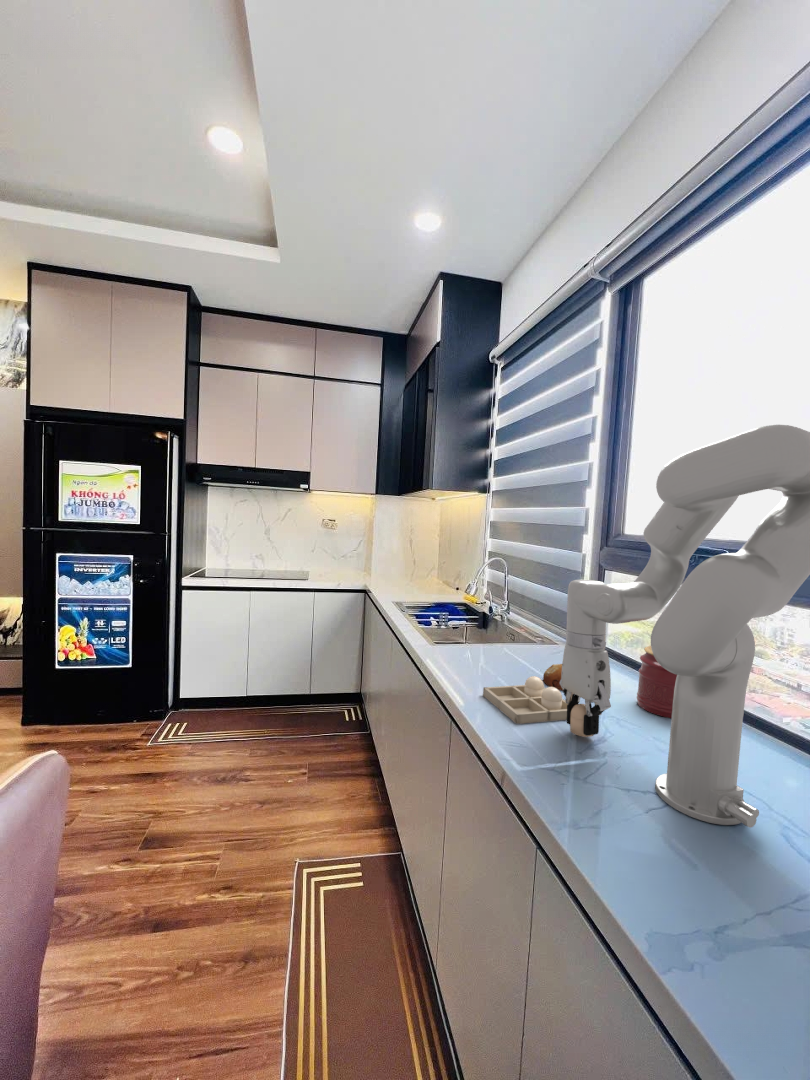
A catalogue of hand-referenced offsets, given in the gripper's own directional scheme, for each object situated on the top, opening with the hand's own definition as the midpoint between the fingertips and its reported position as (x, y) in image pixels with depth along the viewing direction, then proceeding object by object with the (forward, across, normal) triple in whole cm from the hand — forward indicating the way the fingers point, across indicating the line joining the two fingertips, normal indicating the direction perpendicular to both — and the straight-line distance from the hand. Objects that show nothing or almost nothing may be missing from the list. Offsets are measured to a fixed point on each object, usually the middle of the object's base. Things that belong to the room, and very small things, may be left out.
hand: (582, 727), depth 94 cm
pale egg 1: (+1, +20, -1) cm, 20 cm away
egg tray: (+2, +16, +2) cm, 16 cm away
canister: (+3, +10, -33) cm, 34 cm away
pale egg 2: (+1, +12, -1) cm, 13 cm away
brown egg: (+1, 0, 0) cm, 1 cm away
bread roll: (+2, +28, -16) cm, 32 cm away
